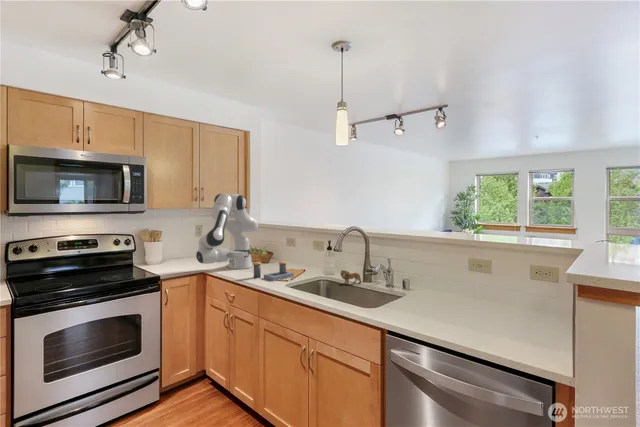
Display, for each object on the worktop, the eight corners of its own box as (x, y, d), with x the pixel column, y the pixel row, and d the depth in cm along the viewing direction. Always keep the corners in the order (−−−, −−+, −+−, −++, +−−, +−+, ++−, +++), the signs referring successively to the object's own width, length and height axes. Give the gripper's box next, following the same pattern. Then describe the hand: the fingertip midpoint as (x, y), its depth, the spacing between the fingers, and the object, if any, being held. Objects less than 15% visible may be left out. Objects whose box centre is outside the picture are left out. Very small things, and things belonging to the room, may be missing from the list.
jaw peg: (251, 277, 225) (251, 262, 225) (258, 276, 229) (258, 261, 229) (256, 278, 221) (255, 263, 221) (263, 277, 225) (262, 262, 225)
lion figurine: (342, 285, 201) (342, 270, 201) (338, 283, 206) (338, 269, 206) (363, 283, 207) (363, 269, 206) (360, 281, 212) (359, 267, 211)
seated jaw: (277, 276, 227) (276, 262, 226) (283, 275, 231) (283, 261, 230) (282, 278, 223) (282, 263, 222) (288, 276, 227) (288, 262, 226)
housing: (263, 278, 222) (263, 274, 222) (283, 274, 234) (283, 270, 234) (273, 280, 214) (273, 277, 214) (293, 276, 226) (293, 273, 226)
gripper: (232, 251, 199) (251, 249, 209) (215, 248, 213) (233, 246, 223) (232, 261, 199) (251, 259, 209) (215, 258, 213) (233, 256, 223)
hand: (242, 252), depth 216 cm, fingers open, 8 cm apart
